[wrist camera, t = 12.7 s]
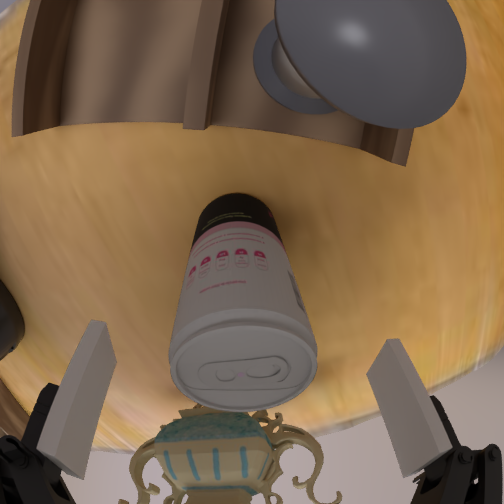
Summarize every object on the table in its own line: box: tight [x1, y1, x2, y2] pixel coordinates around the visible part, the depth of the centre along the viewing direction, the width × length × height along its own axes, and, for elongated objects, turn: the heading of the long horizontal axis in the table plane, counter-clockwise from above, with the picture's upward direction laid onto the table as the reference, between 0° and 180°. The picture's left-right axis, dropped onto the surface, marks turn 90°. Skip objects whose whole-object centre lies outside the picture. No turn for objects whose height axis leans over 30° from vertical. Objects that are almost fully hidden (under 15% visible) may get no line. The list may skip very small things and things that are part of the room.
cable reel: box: [253, 0, 466, 129], centre depth 12 cm, size 8×8×12 cm
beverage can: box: [169, 194, 317, 412], centre depth 18 cm, size 7×7×15 cm
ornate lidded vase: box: [118, 403, 342, 504], centre depth 22 cm, size 24×12×30 cm, turn 103°
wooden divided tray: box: [12, 0, 414, 167], centre depth 14 cm, size 27×14×6 cm, turn 82°
